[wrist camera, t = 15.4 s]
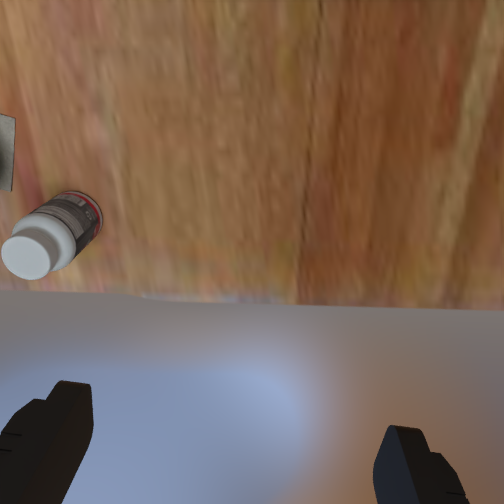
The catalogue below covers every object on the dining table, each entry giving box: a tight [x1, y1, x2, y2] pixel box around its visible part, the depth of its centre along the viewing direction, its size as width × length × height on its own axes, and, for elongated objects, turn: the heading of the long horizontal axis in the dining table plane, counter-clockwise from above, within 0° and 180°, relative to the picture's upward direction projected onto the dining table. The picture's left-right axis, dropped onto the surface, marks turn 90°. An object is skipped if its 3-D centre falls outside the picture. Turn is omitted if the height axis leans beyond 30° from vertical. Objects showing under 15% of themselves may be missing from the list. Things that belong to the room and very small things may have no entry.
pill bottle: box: [1, 191, 102, 280], centre depth 37 cm, size 5×5×10 cm
